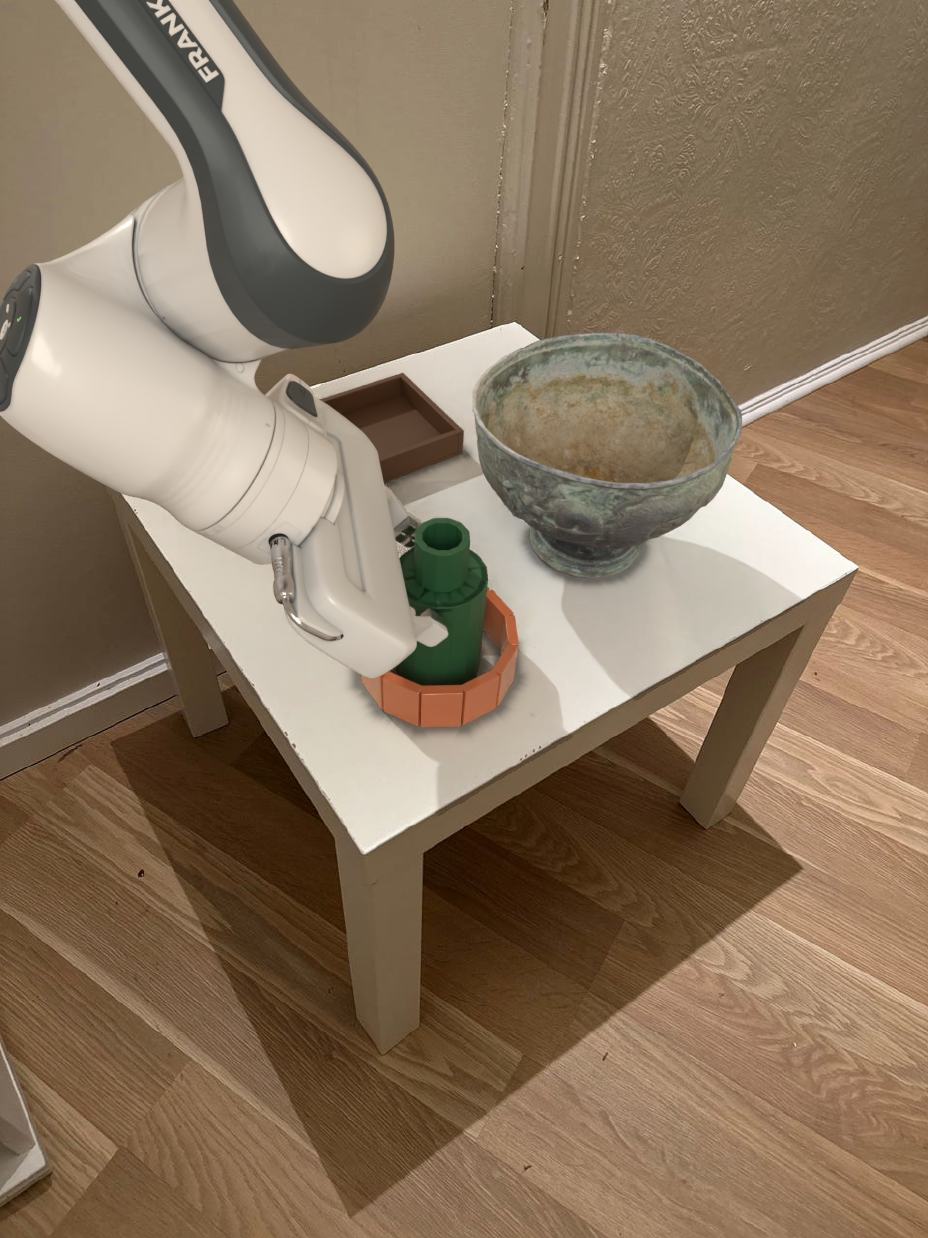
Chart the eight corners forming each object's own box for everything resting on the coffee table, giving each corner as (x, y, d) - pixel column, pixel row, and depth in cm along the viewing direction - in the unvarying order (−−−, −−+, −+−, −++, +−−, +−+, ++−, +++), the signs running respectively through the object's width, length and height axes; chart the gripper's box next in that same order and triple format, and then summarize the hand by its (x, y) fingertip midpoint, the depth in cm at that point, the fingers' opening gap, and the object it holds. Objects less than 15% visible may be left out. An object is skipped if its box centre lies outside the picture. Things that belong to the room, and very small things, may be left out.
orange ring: (360, 729, 64) (358, 696, 61) (362, 609, 72) (360, 575, 69) (519, 725, 65) (525, 692, 62) (505, 607, 73) (509, 573, 70)
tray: (321, 506, 80) (319, 483, 78) (267, 440, 86) (264, 416, 84) (462, 453, 86) (464, 430, 84) (403, 394, 92) (402, 372, 90)
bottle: (396, 699, 66) (394, 571, 56) (395, 633, 70) (393, 503, 60) (481, 697, 66) (495, 570, 56) (475, 632, 71) (487, 503, 61)
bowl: (428, 513, 80) (431, 366, 69) (597, 448, 87) (625, 306, 76) (559, 661, 69) (588, 516, 58) (738, 572, 77) (795, 429, 65)
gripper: (317, 582, 45) (493, 675, 54) (290, 357, 58) (435, 462, 67) (240, 648, 48) (419, 727, 56) (231, 419, 61) (378, 512, 70)
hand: (427, 582), depth 62 cm, fingers open, 8 cm apart
